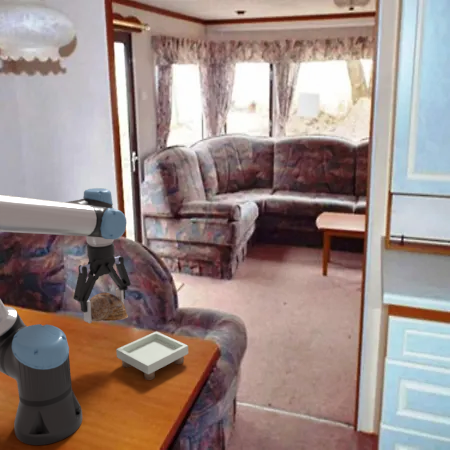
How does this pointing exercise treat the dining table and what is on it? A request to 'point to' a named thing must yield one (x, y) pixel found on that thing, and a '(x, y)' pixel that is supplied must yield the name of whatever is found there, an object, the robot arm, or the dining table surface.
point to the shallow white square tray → (152, 353)
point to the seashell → (107, 308)
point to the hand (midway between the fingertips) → (104, 315)
